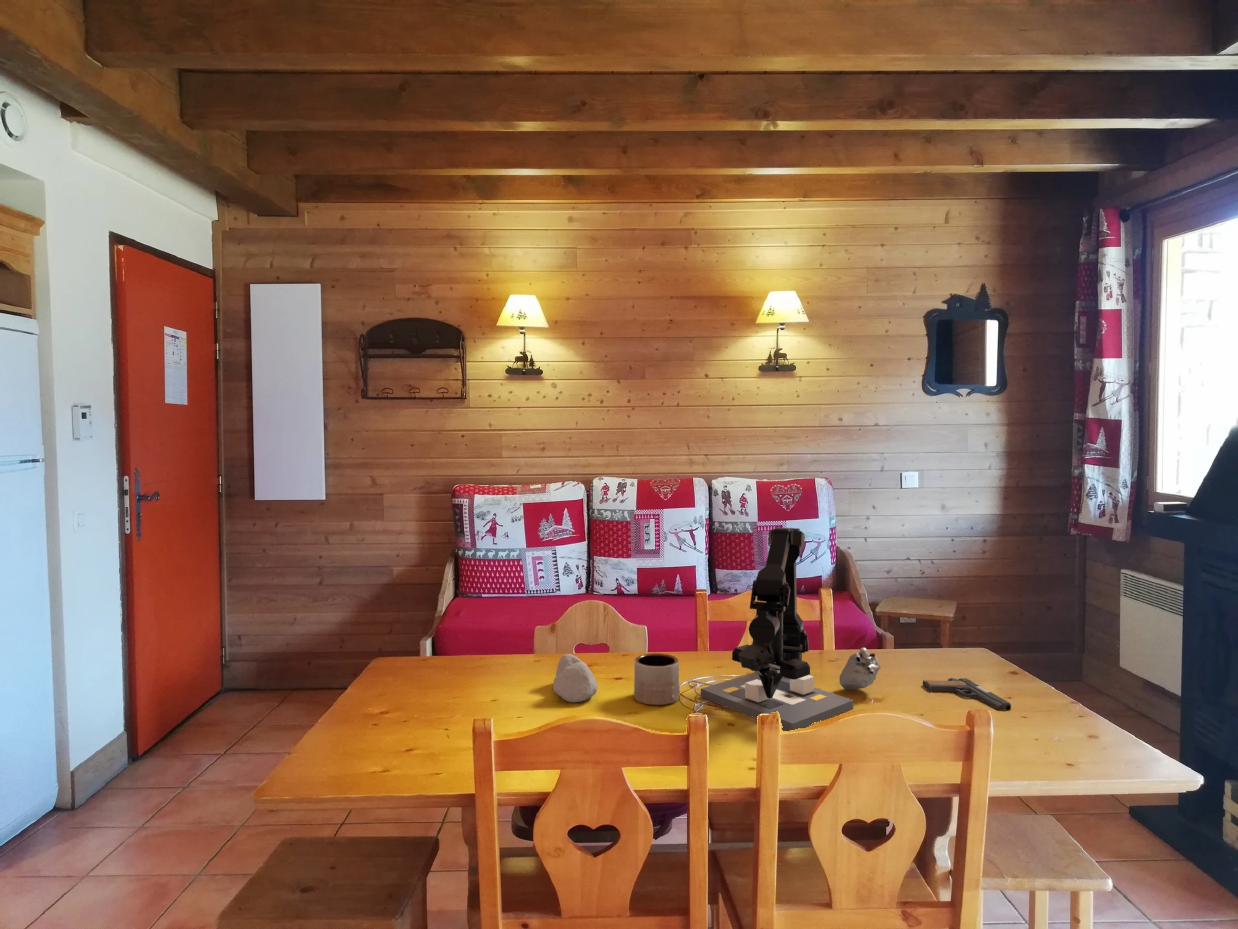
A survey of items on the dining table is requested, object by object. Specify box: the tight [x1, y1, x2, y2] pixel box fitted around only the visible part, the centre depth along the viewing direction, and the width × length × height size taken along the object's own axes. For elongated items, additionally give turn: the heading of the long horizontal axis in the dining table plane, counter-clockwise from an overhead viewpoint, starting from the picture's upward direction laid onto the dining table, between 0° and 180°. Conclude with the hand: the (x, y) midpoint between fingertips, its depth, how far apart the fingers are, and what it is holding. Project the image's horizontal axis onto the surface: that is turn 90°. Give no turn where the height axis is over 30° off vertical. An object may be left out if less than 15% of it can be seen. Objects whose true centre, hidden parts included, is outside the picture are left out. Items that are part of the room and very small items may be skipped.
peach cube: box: [790, 674, 815, 695], centre depth 188 cm, size 4×4×4 cm
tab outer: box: [745, 679, 769, 702], centre depth 183 cm, size 4×4×4 cm
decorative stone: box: [552, 653, 598, 703], centre depth 194 cm, size 17×10×10 cm
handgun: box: [922, 677, 1012, 711], centre depth 190 cm, size 19×2×12 cm
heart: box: [839, 647, 882, 691], centre depth 194 cm, size 10×10×12 cm
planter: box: [633, 652, 680, 707], centre depth 189 cm, size 11×11×10 cm
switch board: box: [700, 671, 854, 732], centre depth 187 cm, size 22×28×2 cm
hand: (769, 698), depth 180 cm, fingers closed
